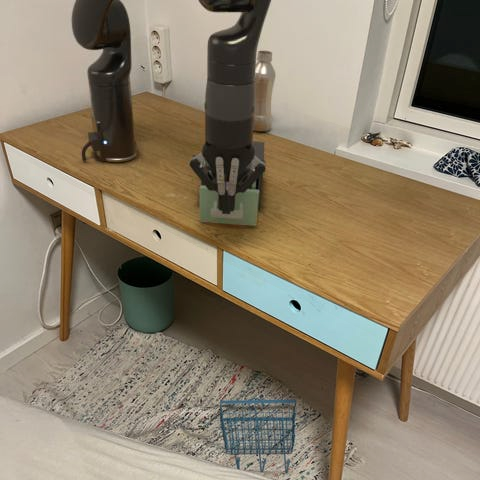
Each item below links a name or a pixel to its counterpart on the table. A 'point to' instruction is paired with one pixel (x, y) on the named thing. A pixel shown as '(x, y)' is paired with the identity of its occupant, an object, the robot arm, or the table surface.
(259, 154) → the cabinet
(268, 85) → the plastic bottle
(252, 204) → the drawer
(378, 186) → the table surface
